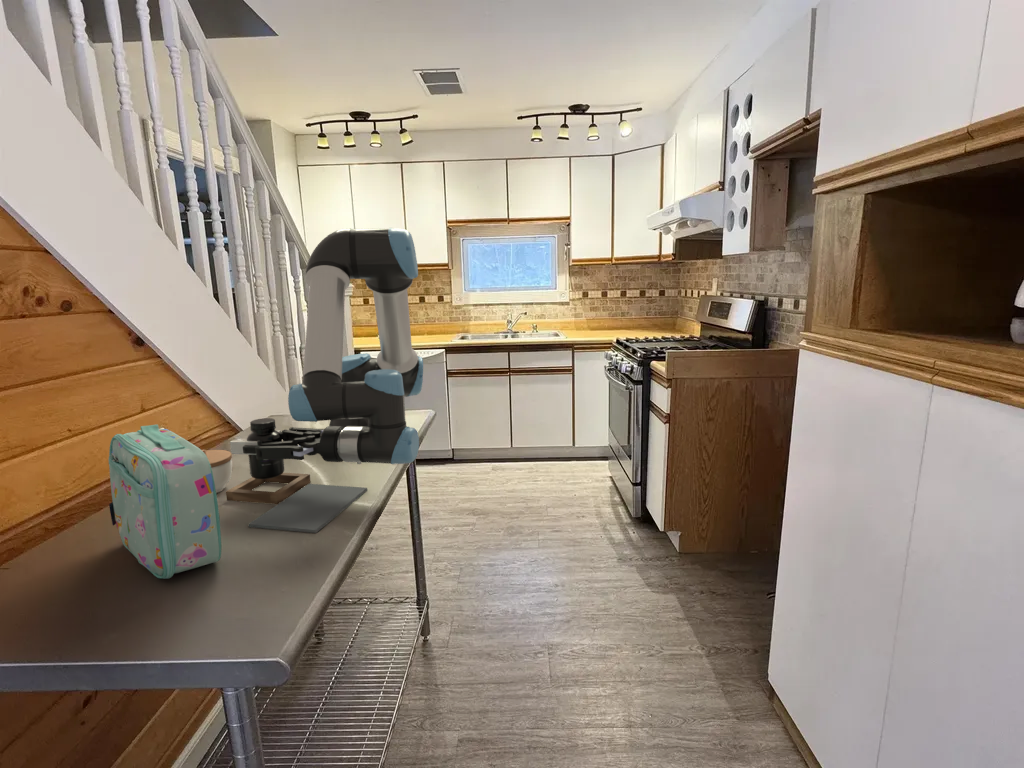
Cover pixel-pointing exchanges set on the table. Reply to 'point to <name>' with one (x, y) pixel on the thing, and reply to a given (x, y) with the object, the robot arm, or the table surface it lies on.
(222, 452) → the lidded jar
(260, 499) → the walnut collar
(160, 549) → the lunch box
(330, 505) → the slate mat
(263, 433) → the supplement bottle
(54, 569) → the table surface
